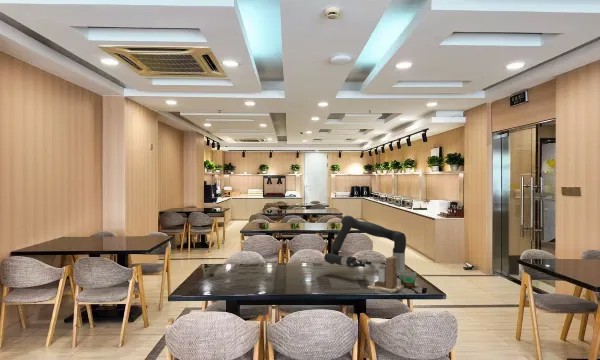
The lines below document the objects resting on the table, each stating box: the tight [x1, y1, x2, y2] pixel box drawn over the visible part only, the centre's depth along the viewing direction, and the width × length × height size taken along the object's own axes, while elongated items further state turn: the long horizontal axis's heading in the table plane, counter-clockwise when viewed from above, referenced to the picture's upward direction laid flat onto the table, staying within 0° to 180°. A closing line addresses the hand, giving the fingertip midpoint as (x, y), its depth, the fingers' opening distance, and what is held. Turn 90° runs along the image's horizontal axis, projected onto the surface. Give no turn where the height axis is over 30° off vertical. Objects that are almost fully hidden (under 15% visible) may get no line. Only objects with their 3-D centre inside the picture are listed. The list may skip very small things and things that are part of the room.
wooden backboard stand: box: [366, 256, 405, 294], centre depth 257 cm, size 18×18×21 cm
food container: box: [399, 271, 417, 289], centre depth 260 cm, size 12×6×10 cm, turn 101°
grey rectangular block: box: [378, 265, 386, 284], centre depth 258 cm, size 5×5×13 cm
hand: (368, 264), depth 267 cm, fingers open, 8 cm apart
